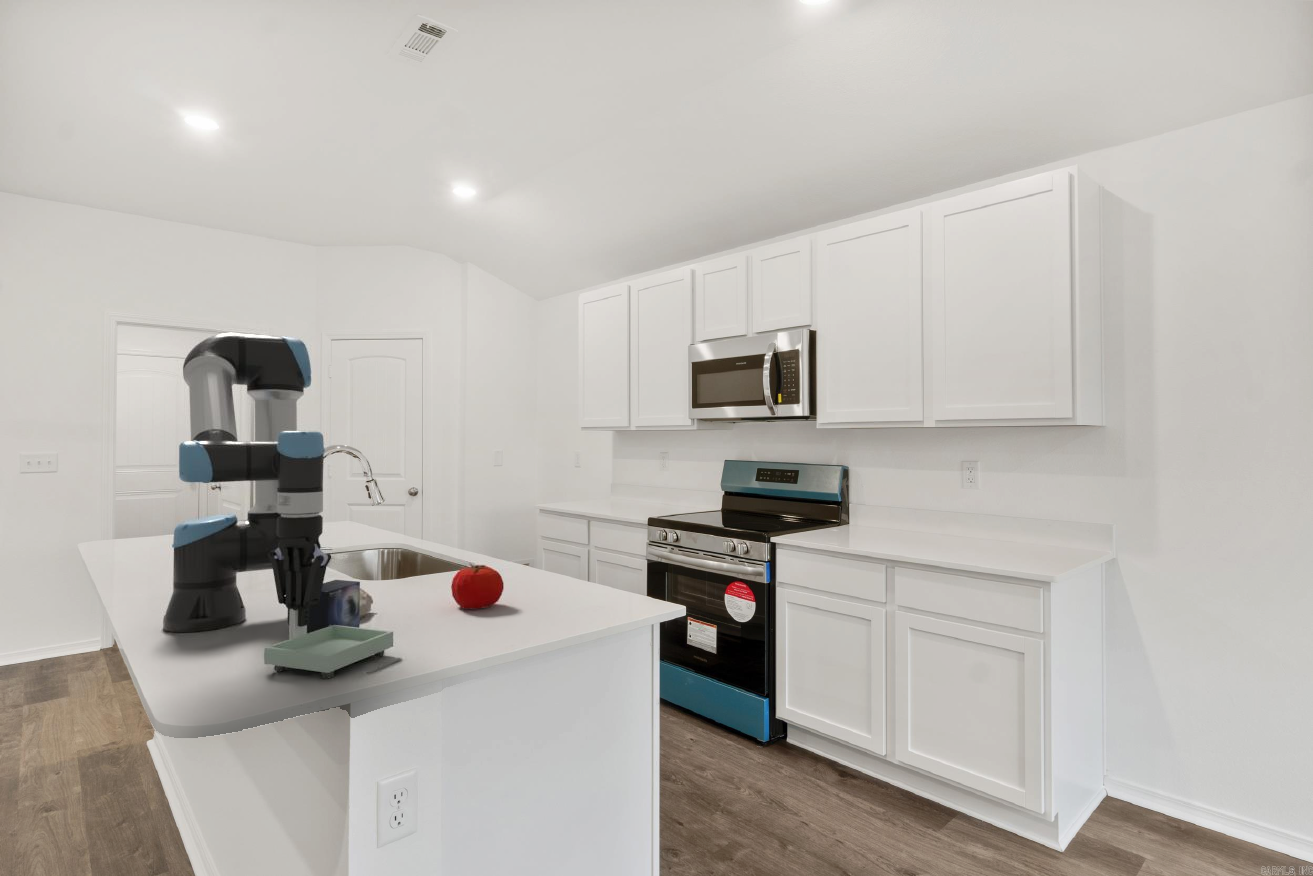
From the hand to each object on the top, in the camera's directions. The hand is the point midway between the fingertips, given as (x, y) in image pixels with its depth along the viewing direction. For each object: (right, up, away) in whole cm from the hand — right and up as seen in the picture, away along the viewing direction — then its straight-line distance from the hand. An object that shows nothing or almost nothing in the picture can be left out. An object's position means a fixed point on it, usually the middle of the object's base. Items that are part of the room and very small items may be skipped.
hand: (298, 643), depth 125 cm
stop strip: (+17, -3, -4) cm, 18 cm away
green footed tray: (+7, -3, -2) cm, 8 cm away
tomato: (+22, -3, +39) cm, 45 cm away
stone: (-4, -3, +29) cm, 30 cm away
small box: (-1, -3, +16) cm, 16 cm away
